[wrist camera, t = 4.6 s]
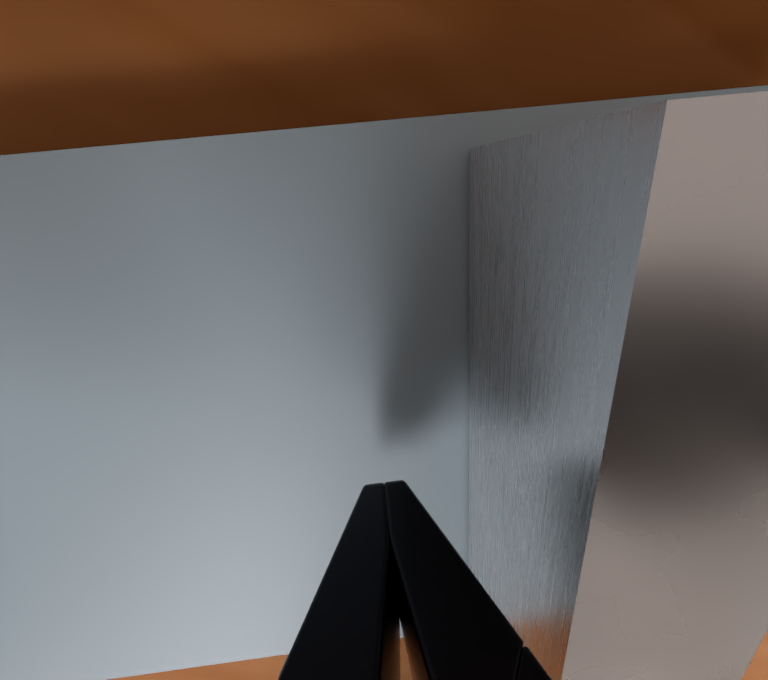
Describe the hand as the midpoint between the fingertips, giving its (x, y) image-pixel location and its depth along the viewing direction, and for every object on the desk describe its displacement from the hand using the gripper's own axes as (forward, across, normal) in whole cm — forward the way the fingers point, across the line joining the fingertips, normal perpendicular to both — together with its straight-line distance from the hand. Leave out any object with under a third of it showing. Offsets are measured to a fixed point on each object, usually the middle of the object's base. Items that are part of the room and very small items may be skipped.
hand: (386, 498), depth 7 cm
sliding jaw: (+1, -3, 0) cm, 3 cm away
